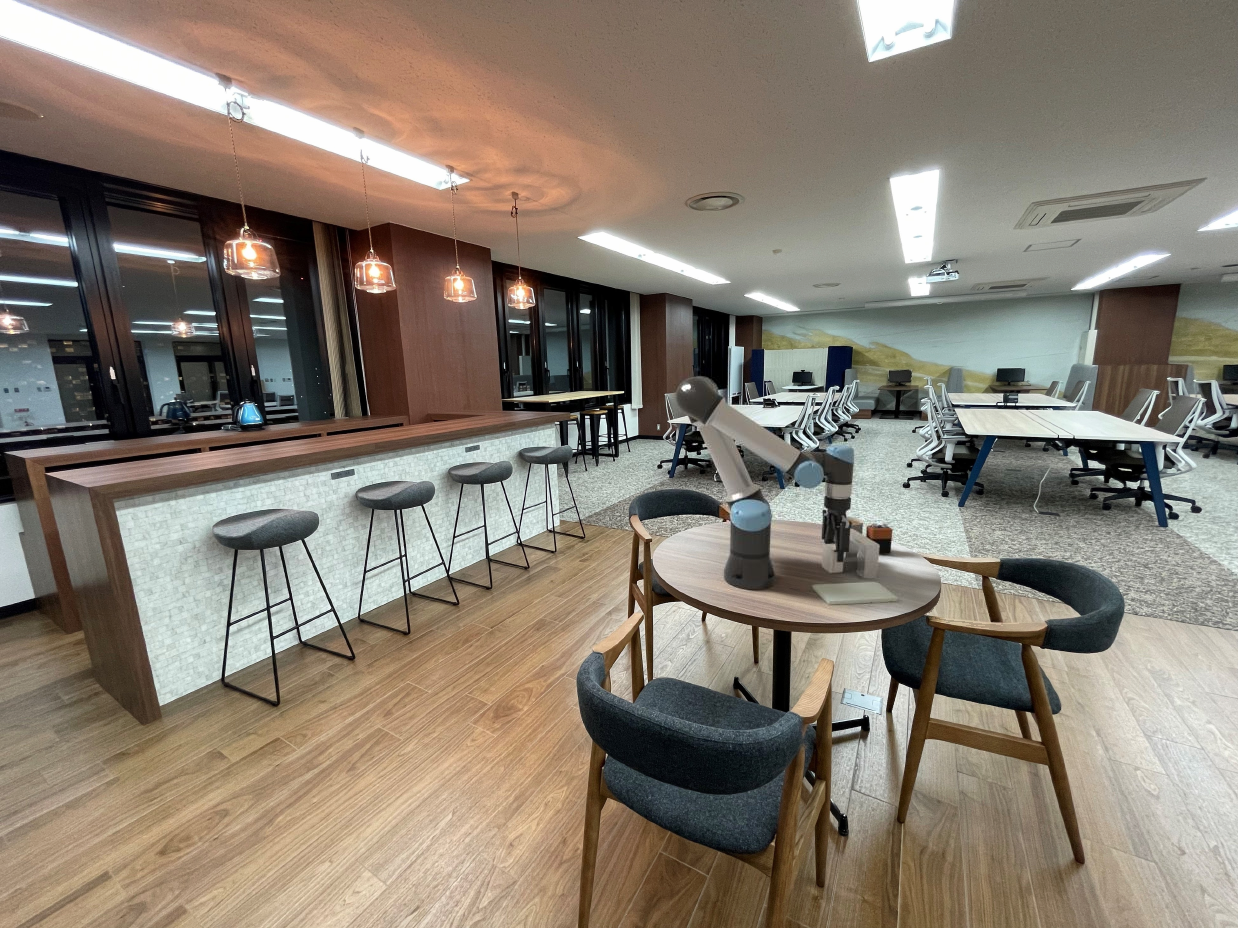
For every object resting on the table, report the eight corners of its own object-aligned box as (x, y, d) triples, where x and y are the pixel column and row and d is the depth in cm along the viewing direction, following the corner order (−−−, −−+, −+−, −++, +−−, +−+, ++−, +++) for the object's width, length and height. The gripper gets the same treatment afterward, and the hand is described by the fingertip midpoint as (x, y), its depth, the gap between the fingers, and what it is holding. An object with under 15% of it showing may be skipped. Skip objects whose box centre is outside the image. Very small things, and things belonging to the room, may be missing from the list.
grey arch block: (863, 578, 142) (866, 545, 140) (838, 559, 156) (840, 529, 154) (876, 577, 142) (879, 544, 140) (850, 558, 157) (852, 528, 155)
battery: (864, 550, 164) (866, 522, 162) (884, 549, 164) (886, 522, 162) (870, 554, 159) (873, 526, 158) (891, 554, 159) (893, 526, 157)
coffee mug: (855, 542, 171) (857, 516, 169) (865, 552, 161) (867, 525, 159) (816, 541, 173) (818, 515, 171) (824, 551, 163) (826, 524, 161)
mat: (828, 604, 127) (829, 601, 127) (812, 587, 137) (812, 584, 136) (897, 601, 128) (897, 597, 127) (875, 584, 137) (876, 581, 137)
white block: (829, 572, 146) (831, 550, 145) (821, 566, 151) (823, 544, 150) (871, 570, 147) (873, 547, 146) (862, 564, 152) (864, 542, 150)
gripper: (866, 503, 136) (860, 578, 140) (834, 488, 153) (830, 555, 158) (841, 504, 135) (835, 579, 140) (812, 489, 153) (808, 556, 157)
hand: (833, 566), depth 149 cm, fingers closed on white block, 5 cm apart
